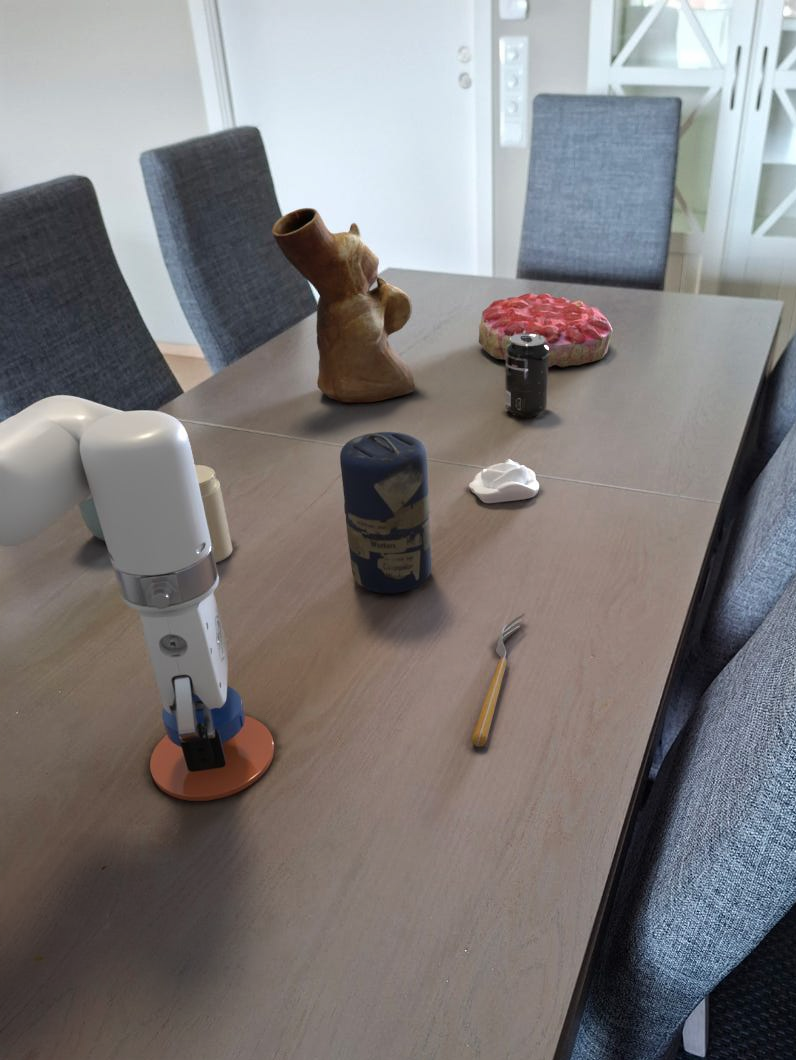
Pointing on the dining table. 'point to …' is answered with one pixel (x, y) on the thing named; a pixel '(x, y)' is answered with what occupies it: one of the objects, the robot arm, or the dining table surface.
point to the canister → (387, 510)
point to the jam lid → (224, 718)
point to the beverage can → (526, 375)
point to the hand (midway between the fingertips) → (208, 737)
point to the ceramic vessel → (348, 309)
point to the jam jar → (214, 512)
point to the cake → (547, 327)
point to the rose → (505, 483)
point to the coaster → (243, 768)
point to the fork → (493, 689)
